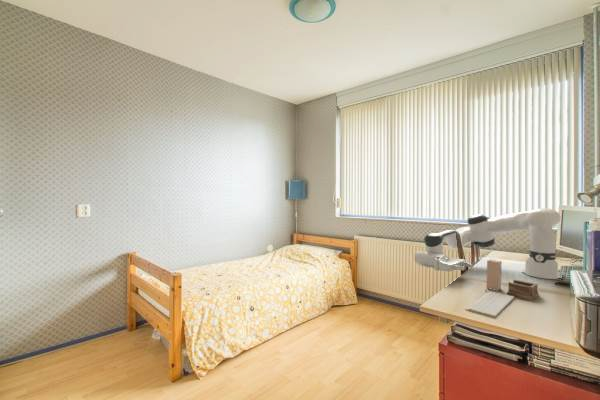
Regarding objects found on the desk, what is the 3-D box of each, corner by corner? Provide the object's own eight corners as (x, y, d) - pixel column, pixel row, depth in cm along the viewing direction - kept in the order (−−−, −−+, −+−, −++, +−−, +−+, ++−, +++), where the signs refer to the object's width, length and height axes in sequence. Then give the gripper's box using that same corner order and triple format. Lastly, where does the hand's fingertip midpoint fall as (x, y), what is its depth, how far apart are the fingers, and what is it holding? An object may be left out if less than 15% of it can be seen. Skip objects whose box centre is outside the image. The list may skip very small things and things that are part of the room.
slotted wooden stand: (515, 289, 146) (515, 278, 146) (538, 294, 139) (538, 283, 139) (506, 295, 138) (507, 283, 138) (530, 301, 131) (530, 288, 131)
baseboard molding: (461, 310, 122) (495, 319, 113) (461, 303, 122) (495, 312, 113) (484, 292, 143) (514, 299, 134) (484, 286, 143) (514, 293, 134)
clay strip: (489, 286, 151) (490, 259, 151) (500, 288, 147) (501, 261, 147) (486, 287, 148) (487, 260, 148) (497, 290, 145) (498, 262, 144)
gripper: (450, 265, 174) (475, 270, 164) (433, 270, 162) (459, 276, 151) (450, 254, 174) (476, 258, 163) (433, 259, 161) (459, 264, 151)
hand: (467, 267), depth 157 cm, fingers open, 8 cm apart
